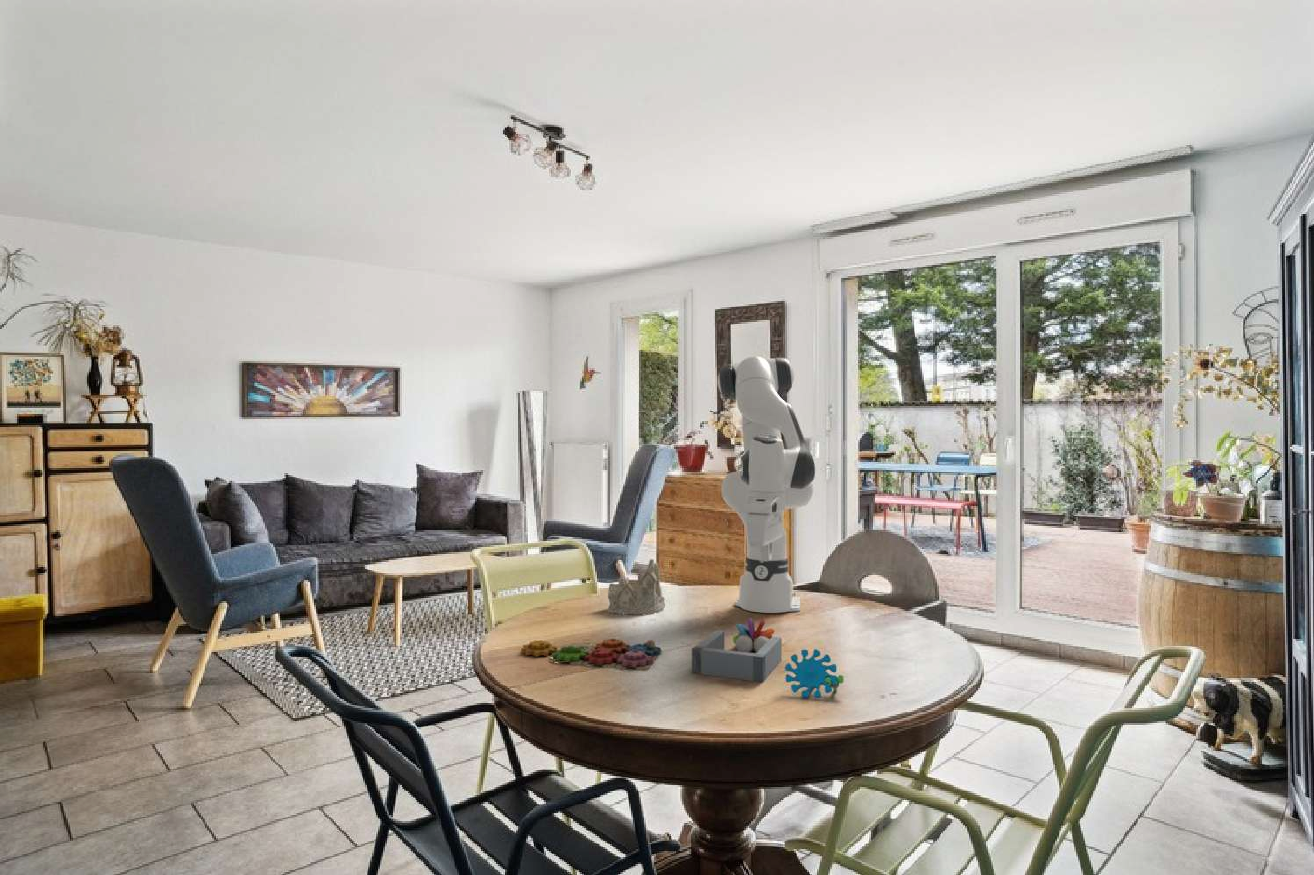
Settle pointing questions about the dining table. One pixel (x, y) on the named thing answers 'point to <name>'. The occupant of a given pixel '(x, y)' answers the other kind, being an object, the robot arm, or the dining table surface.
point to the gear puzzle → (599, 653)
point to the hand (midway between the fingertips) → (766, 560)
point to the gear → (813, 674)
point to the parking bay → (735, 659)
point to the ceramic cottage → (638, 593)
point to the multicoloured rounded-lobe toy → (752, 636)
